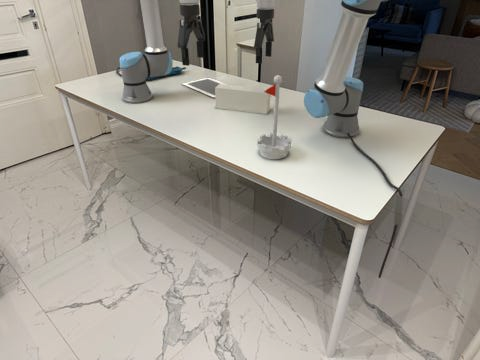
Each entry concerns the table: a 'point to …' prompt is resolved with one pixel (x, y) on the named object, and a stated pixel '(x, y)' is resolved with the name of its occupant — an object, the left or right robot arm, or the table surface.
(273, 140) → the flag stand
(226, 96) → the box
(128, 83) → the left robot arm
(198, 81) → the tablet
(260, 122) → the table surface
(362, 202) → the table surface
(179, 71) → the submachine gun
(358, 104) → the right robot arm
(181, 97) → the table surface
